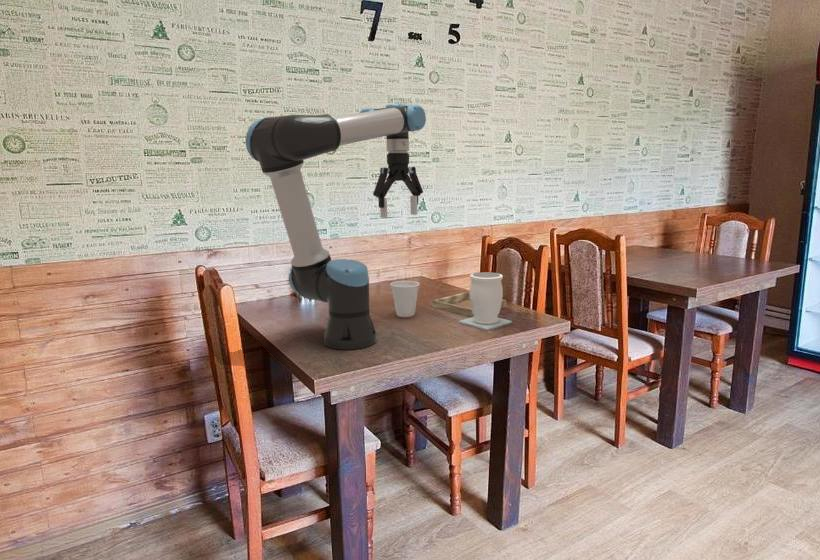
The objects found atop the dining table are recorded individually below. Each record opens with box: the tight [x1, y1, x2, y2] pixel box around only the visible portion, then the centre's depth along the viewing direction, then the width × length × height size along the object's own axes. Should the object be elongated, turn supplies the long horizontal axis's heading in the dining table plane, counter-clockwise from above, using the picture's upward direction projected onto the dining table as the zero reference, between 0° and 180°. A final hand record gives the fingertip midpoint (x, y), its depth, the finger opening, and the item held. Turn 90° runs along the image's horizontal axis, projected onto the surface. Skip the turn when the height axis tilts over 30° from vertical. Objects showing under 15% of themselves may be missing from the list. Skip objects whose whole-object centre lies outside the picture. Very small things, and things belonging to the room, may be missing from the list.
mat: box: [458, 316, 513, 332], centre depth 176 cm, size 12×12×1 cm
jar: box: [469, 271, 504, 324], centre depth 175 cm, size 11×10×15 cm
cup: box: [389, 280, 421, 318], centre depth 186 cm, size 10×10×11 cm
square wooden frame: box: [431, 291, 507, 318], centre depth 196 cm, size 18×18×2 cm
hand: (399, 216), depth 189 cm, fingers open, 13 cm apart
